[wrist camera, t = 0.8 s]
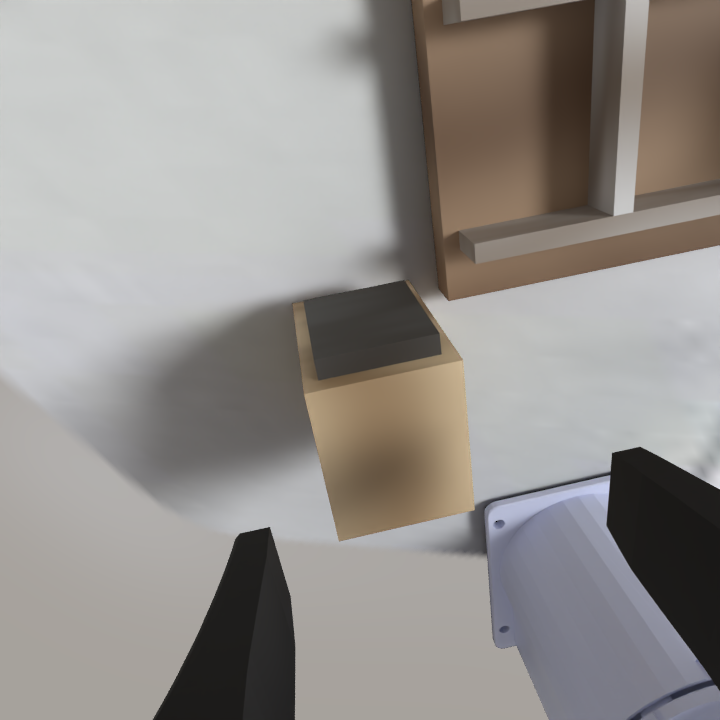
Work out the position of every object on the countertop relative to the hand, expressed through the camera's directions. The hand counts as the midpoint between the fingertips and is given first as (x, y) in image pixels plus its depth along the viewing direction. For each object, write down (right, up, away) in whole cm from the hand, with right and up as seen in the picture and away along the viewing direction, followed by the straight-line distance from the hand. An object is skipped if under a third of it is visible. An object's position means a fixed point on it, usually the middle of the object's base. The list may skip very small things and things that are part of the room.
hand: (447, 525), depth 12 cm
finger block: (-2, +4, +9) cm, 10 cm away
